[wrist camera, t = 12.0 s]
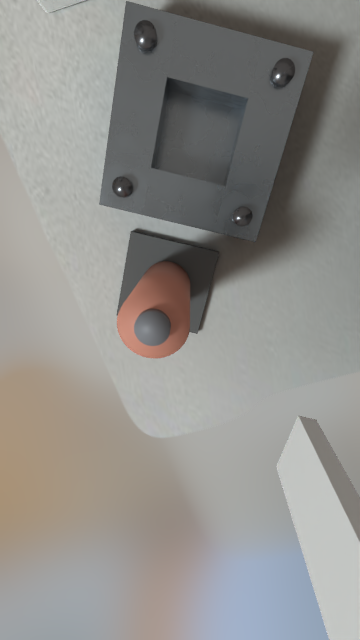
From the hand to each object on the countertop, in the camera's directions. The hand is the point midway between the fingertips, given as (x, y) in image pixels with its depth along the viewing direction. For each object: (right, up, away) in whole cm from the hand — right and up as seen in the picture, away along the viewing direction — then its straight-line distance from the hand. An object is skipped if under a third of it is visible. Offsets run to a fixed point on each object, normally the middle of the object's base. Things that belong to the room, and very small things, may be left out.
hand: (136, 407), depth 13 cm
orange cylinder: (0, +7, +20) cm, 21 cm away
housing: (+3, +20, +16) cm, 26 cm away
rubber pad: (0, +7, +20) cm, 22 cm away
